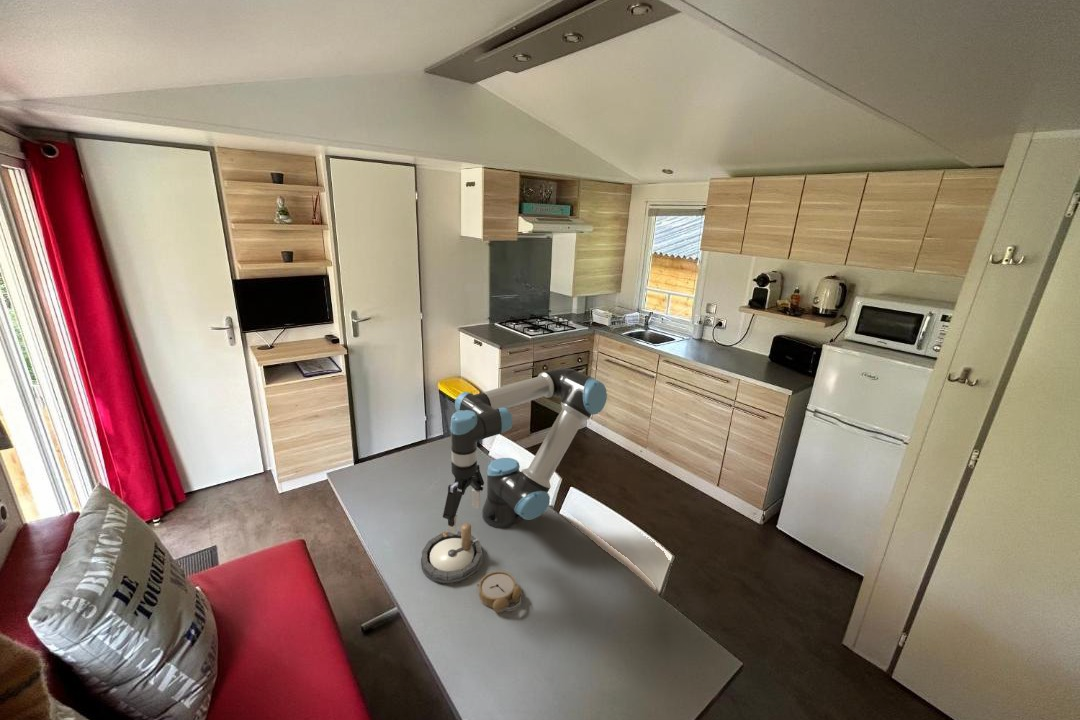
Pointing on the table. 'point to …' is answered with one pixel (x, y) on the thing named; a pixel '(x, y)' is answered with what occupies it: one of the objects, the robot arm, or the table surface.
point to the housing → (450, 576)
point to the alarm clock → (499, 591)
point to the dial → (453, 552)
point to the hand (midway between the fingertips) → (464, 519)
